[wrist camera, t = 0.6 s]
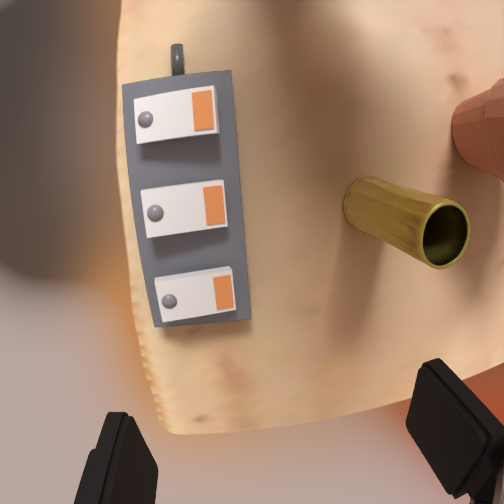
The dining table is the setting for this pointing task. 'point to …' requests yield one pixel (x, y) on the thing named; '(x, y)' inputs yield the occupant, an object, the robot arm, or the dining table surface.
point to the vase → (409, 220)
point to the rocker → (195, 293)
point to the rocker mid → (184, 208)
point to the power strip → (182, 172)
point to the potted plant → (482, 130)
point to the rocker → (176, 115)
